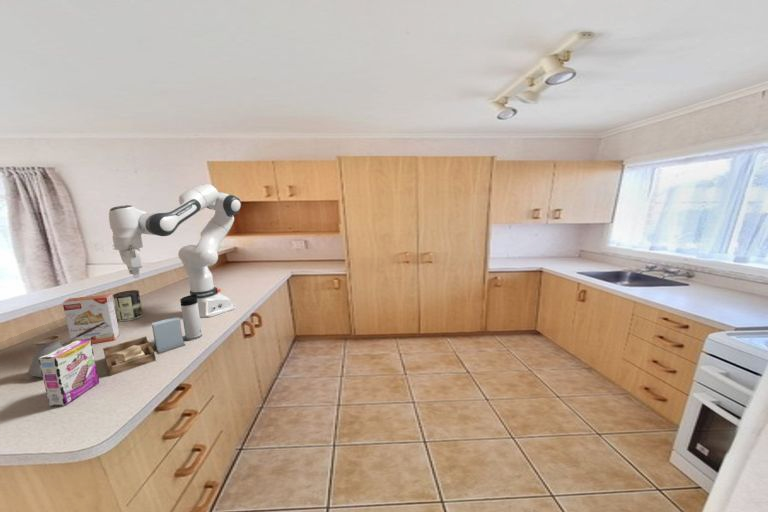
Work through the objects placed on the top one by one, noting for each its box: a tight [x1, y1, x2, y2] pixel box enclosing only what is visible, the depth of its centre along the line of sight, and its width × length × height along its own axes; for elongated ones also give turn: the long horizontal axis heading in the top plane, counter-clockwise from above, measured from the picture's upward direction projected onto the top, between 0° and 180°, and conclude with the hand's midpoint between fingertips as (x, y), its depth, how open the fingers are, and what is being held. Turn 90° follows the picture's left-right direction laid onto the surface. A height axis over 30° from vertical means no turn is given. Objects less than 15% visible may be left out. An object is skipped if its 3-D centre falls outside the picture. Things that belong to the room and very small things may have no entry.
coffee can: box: [112, 289, 144, 322], centre depth 146 cm, size 10×10×14 cm
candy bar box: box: [38, 340, 100, 407], centre depth 86 cm, size 11×5×16 cm, turn 5°
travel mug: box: [179, 294, 203, 341], centre depth 124 cm, size 6×7×20 cm
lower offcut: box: [115, 351, 145, 365], centre depth 104 cm, size 8×4×4 cm, turn 143°
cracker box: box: [62, 293, 120, 345], centre depth 120 cm, size 14×6×21 cm, turn 117°
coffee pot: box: [27, 322, 108, 379], centre depth 102 cm, size 21×12×15 cm, turn 134°
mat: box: [153, 341, 186, 355], centre depth 118 cm, size 9×10×1 cm
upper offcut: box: [117, 345, 142, 361], centre depth 103 cm, size 6×3×3 cm, turn 171°
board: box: [151, 316, 184, 351], centre depth 117 cm, size 9×4×11 cm, turn 140°
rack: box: [102, 336, 157, 377], centre depth 106 cm, size 13×16×5 cm
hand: (134, 275), depth 116 cm, fingers open, 8 cm apart
